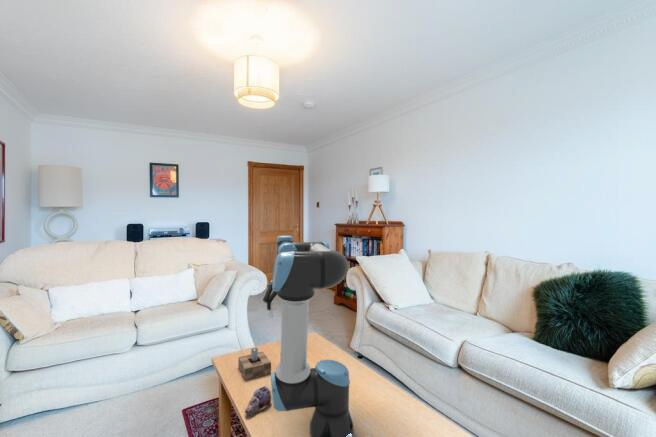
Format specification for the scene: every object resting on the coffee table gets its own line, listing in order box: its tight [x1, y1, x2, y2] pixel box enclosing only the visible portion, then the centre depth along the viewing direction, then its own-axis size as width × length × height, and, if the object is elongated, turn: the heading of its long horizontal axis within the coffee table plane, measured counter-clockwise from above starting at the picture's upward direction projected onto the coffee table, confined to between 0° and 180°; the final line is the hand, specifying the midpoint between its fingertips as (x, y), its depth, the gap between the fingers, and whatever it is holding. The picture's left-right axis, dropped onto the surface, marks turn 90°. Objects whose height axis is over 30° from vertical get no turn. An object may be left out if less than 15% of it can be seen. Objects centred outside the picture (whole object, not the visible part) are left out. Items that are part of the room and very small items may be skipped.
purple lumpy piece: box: [244, 385, 272, 416], centre depth 117 cm, size 12×8×6 cm, turn 145°
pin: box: [250, 347, 259, 363], centre depth 144 cm, size 3×3×10 cm
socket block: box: [237, 351, 272, 381], centre depth 144 cm, size 12×12×5 cm
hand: (284, 314), depth 142 cm, fingers open, 13 cm apart
